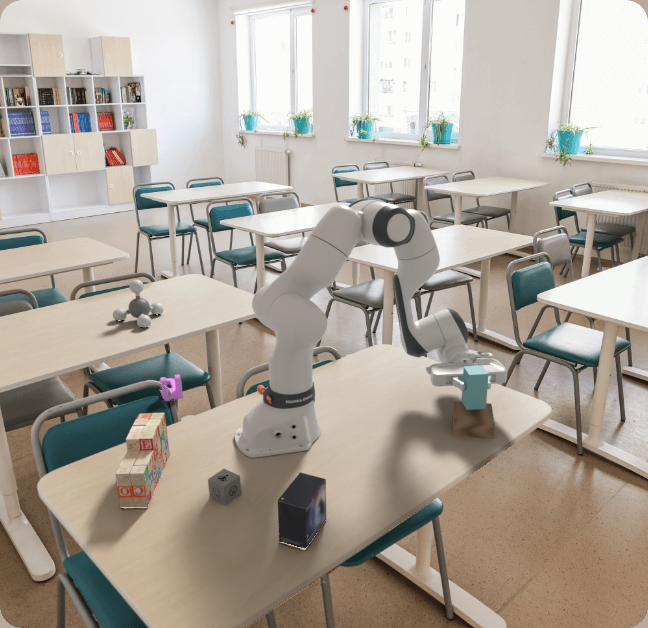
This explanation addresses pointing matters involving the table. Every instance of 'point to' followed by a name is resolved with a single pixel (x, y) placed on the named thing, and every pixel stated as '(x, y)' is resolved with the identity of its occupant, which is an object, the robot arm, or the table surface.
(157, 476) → the stack of blocks
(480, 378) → the teal pillar
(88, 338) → the table surface
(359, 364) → the table surface
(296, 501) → the small box
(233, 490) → the dice cube
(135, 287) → the molecule model
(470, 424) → the walnut base
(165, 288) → the table surface
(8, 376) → the table surface
